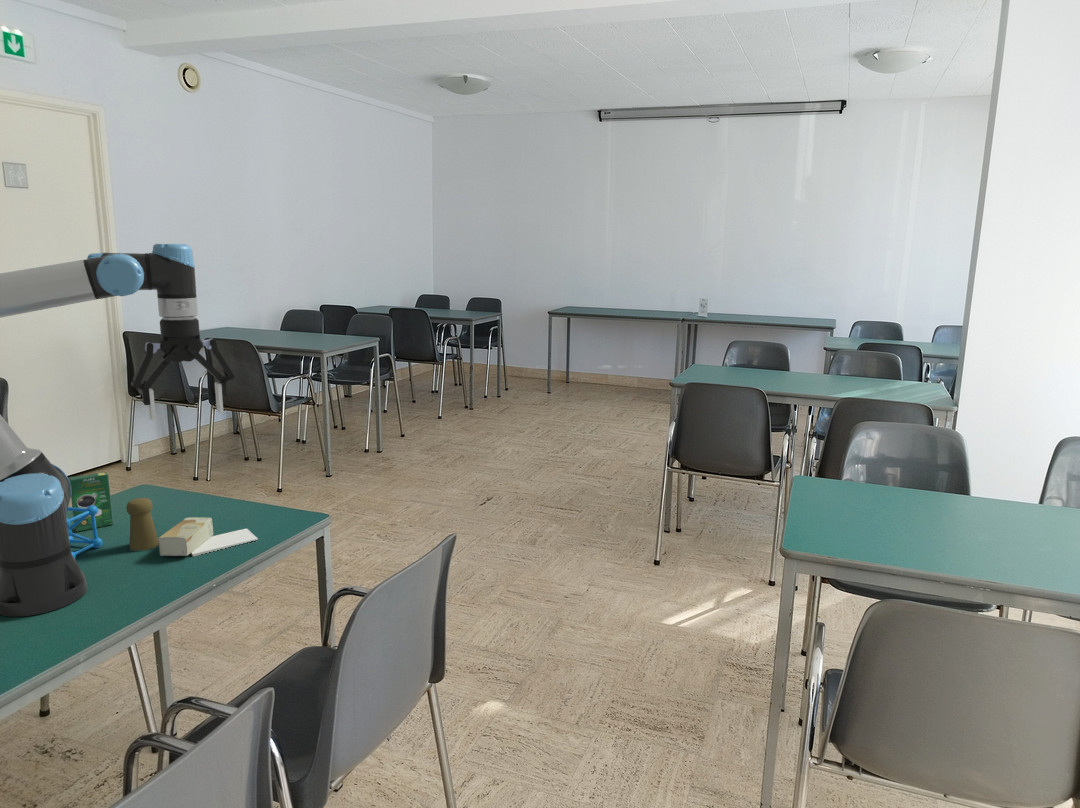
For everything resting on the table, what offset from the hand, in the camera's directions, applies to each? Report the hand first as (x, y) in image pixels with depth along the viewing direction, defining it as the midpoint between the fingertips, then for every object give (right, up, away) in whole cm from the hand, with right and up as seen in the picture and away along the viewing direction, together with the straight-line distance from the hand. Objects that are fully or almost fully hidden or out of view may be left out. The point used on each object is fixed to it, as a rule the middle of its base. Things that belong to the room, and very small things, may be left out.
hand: (187, 415), depth 165 cm
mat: (+4, -29, +7) cm, 30 cm away
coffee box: (-30, -27, +18) cm, 44 cm away
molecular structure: (-27, -31, +3) cm, 41 cm away
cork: (-13, -30, +6) cm, 33 cm away
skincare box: (-2, -26, +11) cm, 28 cm away
